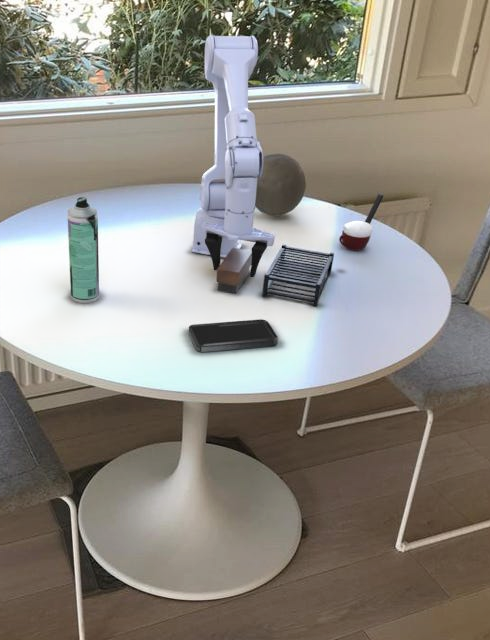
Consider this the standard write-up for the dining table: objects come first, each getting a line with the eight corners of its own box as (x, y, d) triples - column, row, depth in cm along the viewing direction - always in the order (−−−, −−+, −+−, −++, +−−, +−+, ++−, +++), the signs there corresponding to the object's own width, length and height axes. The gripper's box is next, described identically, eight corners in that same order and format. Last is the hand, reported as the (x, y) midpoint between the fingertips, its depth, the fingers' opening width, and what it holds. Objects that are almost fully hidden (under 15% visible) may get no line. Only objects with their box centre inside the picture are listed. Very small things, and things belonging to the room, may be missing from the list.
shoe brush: (215, 291, 154) (217, 268, 151) (230, 269, 163) (232, 247, 160) (236, 295, 153) (238, 272, 150) (250, 272, 161) (252, 251, 159)
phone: (279, 340, 136) (197, 346, 133) (279, 345, 137) (197, 352, 134) (266, 318, 142) (187, 324, 139) (265, 323, 143) (187, 329, 140)
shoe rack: (262, 296, 153) (264, 274, 150) (280, 264, 165) (282, 244, 163) (316, 307, 150) (320, 285, 147) (330, 273, 162) (334, 253, 160)
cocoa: (339, 253, 171) (347, 202, 165) (332, 242, 177) (340, 191, 170) (380, 253, 172) (390, 202, 166) (372, 242, 178) (381, 192, 171)
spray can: (103, 293, 151) (102, 196, 140) (92, 305, 147) (89, 206, 136) (78, 288, 153) (74, 191, 142) (66, 300, 148) (61, 201, 137)
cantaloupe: (245, 202, 196) (251, 144, 188) (301, 207, 194) (309, 149, 186) (242, 223, 184) (247, 162, 176) (301, 229, 183) (309, 167, 174)
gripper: (198, 209, 148) (194, 273, 155) (271, 221, 144) (264, 286, 151) (208, 197, 153) (205, 260, 161) (279, 209, 150) (272, 272, 157)
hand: (234, 272), depth 156 cm, fingers open, 7 cm apart
